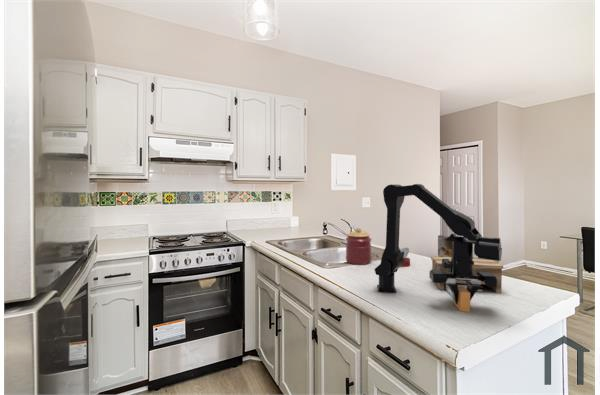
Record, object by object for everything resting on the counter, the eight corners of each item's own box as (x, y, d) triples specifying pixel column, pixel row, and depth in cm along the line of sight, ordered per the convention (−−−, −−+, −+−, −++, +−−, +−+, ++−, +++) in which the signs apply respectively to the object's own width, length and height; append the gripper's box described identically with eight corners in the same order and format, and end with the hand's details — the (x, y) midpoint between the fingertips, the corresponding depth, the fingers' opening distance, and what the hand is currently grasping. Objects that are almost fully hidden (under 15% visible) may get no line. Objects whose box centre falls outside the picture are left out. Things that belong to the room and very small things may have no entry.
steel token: (485, 292, 110) (485, 290, 110) (472, 292, 111) (472, 289, 111) (480, 288, 115) (480, 286, 115) (468, 288, 116) (468, 285, 116)
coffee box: (460, 271, 136) (460, 236, 136) (460, 275, 131) (460, 238, 130) (438, 268, 141) (438, 234, 140) (437, 272, 135) (437, 237, 134)
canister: (348, 257, 163) (348, 225, 162) (373, 259, 158) (373, 226, 158) (343, 263, 151) (343, 228, 150) (369, 266, 146) (369, 230, 146)
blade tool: (493, 313, 92) (493, 294, 92) (460, 311, 94) (460, 292, 94) (470, 291, 111) (470, 275, 111) (443, 289, 113) (443, 273, 113)
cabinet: (503, 293, 108) (504, 266, 108) (438, 290, 112) (438, 263, 112) (489, 283, 119) (489, 258, 119) (430, 280, 124) (431, 256, 123)
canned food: (407, 276, 145) (408, 260, 140) (386, 271, 150) (386, 256, 145) (412, 261, 153) (413, 245, 148) (392, 256, 158) (392, 242, 153)
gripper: (484, 251, 102) (483, 296, 103) (426, 249, 106) (425, 293, 106) (499, 259, 91) (497, 309, 92) (433, 257, 95) (433, 305, 96)
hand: (461, 303), depth 97 cm, fingers closed on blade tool, 3 cm apart
